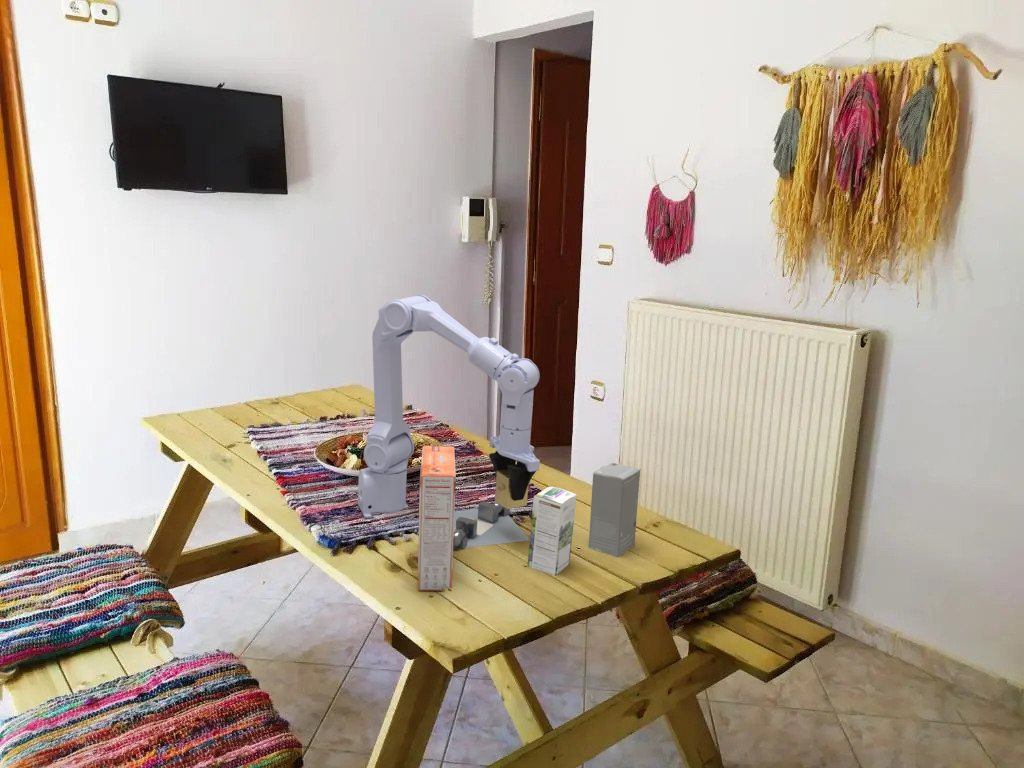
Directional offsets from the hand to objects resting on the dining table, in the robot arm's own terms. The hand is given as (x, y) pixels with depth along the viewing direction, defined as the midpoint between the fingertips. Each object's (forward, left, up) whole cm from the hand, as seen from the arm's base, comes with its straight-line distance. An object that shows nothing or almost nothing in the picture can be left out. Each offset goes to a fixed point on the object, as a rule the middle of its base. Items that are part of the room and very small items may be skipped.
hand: (510, 494), depth 150 cm
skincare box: (+18, -8, -10) cm, 22 cm away
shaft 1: (-10, 0, -9) cm, 13 cm away
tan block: (0, 0, -2) cm, 2 cm away
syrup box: (+3, -13, -10) cm, 16 cm away
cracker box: (-17, -9, -10) cm, 21 cm away
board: (-4, +5, -9) cm, 12 cm away
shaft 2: (+1, +10, -9) cm, 13 cm away
